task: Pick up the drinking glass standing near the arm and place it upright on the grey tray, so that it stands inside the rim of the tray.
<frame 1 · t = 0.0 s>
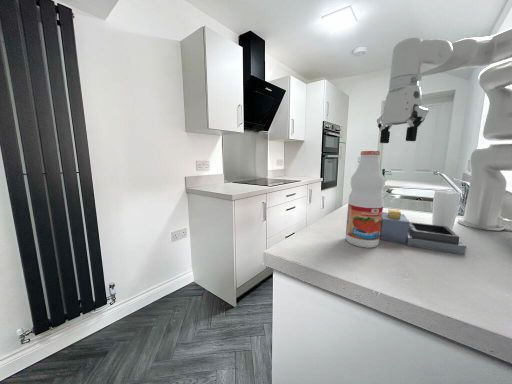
hand: (396, 142, 69), 31 cm above the counter, tool pointing down, fingers open, 9 cm apart
grey tray: (428, 242, 67), on the counter
fruit juice: (361, 242, 66), on the counter
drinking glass: (440, 234, 74), on the counter
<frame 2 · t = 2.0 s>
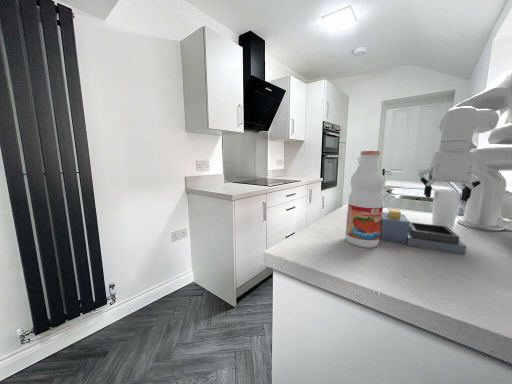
hand: (445, 198, 72), 13 cm above the counter, tool pointing down, fingers open, 9 cm apart
nothing on the counter moved.
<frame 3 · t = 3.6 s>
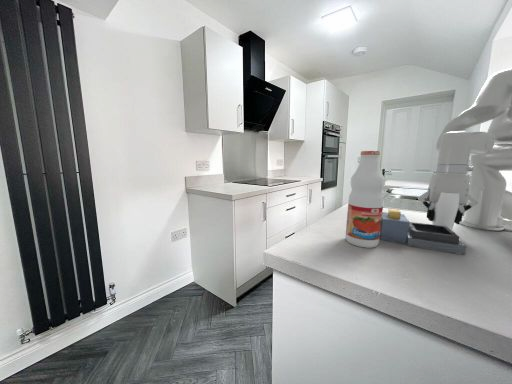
hand: (442, 221, 74), 5 cm above the counter, tool pointing down, fingers closed on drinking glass, 6 cm apart
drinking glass: (440, 234, 74), on the counter, touching gripper
everything else where it was.
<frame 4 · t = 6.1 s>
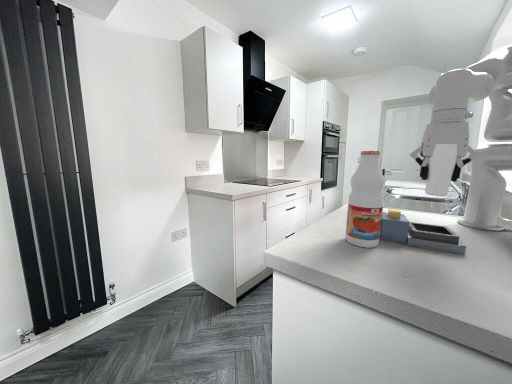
hand: (438, 179, 64), 20 cm above the counter, tool pointing down, fingers closed on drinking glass, 6 cm apart
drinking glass: (435, 195, 64), point 15 cm above the counter, touching gripper
everything else where it was.
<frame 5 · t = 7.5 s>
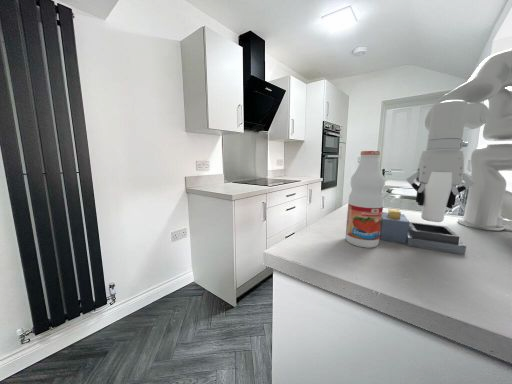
hand: (433, 205, 65), 12 cm above the counter, tool pointing down, fingers closed on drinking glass, 6 cm apart
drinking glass: (431, 220, 66), point 7 cm above the counter, touching gripper
everything else where it was.
when the fingers open (8 cm above the counter, at t = 8.7 s): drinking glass stays where it is, resting on grey tray.
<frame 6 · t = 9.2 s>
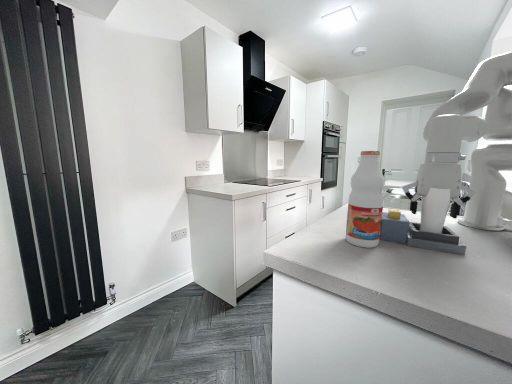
hand: (432, 215, 65), 9 cm above the counter, tool pointing down, fingers open, 9 cm apart
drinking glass: (429, 235, 67), point 2 cm above the counter, touching grey tray
everything else where it was.
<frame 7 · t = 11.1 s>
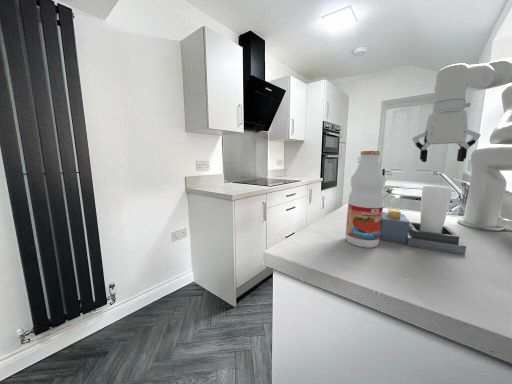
hand: (441, 161, 71), 25 cm above the counter, tool pointing down, fingers open, 9 cm apart
nothing on the counter moved.
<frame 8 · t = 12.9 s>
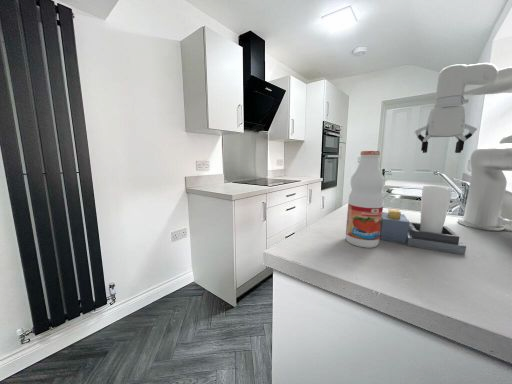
hand: (440, 152, 79), 28 cm above the counter, tool pointing down, fingers open, 9 cm apart
nothing on the counter moved.
at the end: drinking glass 0.2 cm off-centre on the grey tray, point 2.3 cm above the grey tray's base; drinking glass tilted 0°; the gripper is holding nothing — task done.
